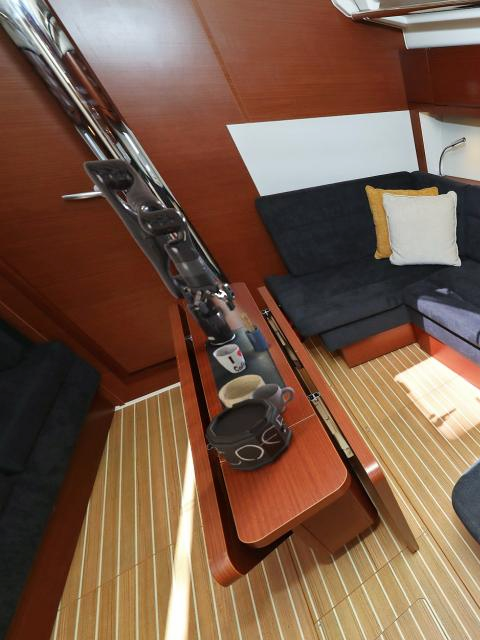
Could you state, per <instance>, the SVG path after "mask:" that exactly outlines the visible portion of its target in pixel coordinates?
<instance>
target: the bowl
mask: <svg viewBox="0 0 480 640" xmlns="http://www.w3.org/2000/svg"><path fill="white" fill-rule="evenodd" d="M266 384H267V383H265V381H264V379H263V378H262V376H260V375H258V374H245V375H242V376H239V377H237V378H234V379H232V380H231V381H229V382H227V383H226V384H224V385H223V386H222V387H221V388H220V390H219V391H218V398H219V399H220V401H221V402H222V403H223V405H224V406H225V408H227V407H232V404H235V403H238V402H241V401H244V400H246V399H250V395H251V393H252V392H253V391H254V390H255V389H257V388H258V387H260V386H263V385H266Z"/></svg>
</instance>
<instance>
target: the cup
mask: <svg viewBox="0 0 480 640" xmlns="http://www.w3.org/2000/svg"><path fill="white" fill-rule="evenodd" d="M212 355H213V356H214V358H215V359H216V360H217V361H218V362H219V364H221V366H222V367H224V368H225V369H226V370H227V371H229V372H230V373H232V374H237V373H240V372H243V371H244V370H245V369H246V361H245V359H244V356H243V354H242V351H241V349H240V348H239V346H238V345H237V344H235V343H233V344H232V343H231V344H225V345H222V346H221V347H219V348H217V349H216V350H214V351H213V353H212Z"/></svg>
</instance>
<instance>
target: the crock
mask: <svg viewBox="0 0 480 640" xmlns="http://www.w3.org/2000/svg"><path fill="white" fill-rule="evenodd" d="M253 327H254V329H255V332H252V333H249V331H248V329H247V328H246V329H245V330H244V334H245V336H246V338H247V340H248V341H249V342H250V345H251V346H252V348H253V349H254V351H255V352H258V353H260V352H263V351H266V350H267V349H269V347H270V346H269V344H268V342H267V340H266V337H265V336H264V334H263V333H262V331H261V329H260V328H259V326H253Z"/></svg>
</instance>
